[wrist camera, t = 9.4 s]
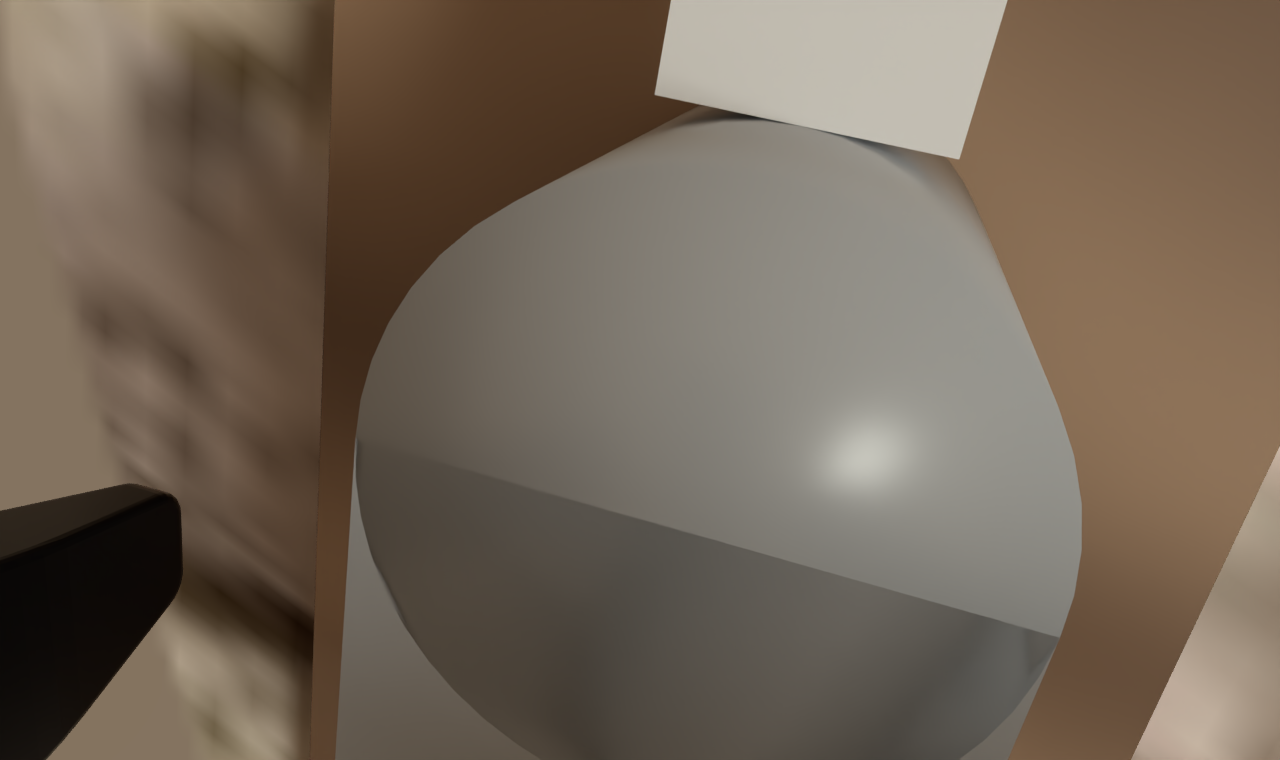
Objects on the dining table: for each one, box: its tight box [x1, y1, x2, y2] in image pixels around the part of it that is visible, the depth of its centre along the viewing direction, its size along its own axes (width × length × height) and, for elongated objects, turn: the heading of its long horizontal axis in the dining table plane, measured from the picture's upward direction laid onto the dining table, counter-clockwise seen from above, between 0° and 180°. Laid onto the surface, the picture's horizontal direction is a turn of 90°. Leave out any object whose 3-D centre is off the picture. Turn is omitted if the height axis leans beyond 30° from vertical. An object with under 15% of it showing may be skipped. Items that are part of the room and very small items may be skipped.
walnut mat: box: [310, 0, 1280, 760], centre depth 11 cm, size 16×10×1 cm, turn 170°
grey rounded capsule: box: [335, 0, 1082, 760], centre depth 8 cm, size 11×4×5 cm, turn 170°
